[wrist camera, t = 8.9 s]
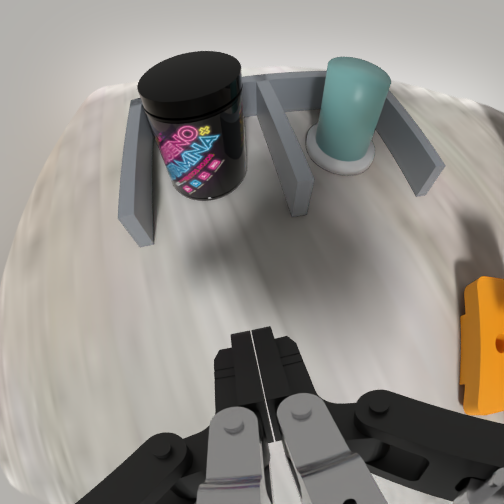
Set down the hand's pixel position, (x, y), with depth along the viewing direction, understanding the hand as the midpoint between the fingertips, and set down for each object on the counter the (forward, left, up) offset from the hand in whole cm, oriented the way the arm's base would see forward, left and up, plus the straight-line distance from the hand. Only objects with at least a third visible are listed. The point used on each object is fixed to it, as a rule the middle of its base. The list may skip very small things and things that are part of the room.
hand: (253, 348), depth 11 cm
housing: (-13, -12, -8) cm, 20 cm away
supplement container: (-7, -14, -9) cm, 18 cm away
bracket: (-14, +14, -9) cm, 22 cm away
